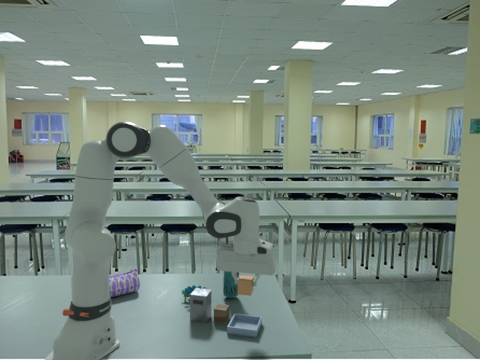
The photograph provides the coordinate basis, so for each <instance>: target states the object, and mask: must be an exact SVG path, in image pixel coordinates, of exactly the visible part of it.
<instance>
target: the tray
mask: <svg viewBox="0 0 480 360" xmlns="http://www.w3.org/2000/svg"><path fill="white" fill-rule="evenodd" d="M262 325H263V316H259V315H250V314H243V313H234V314H233V315H232V316H231V319H230V321H229V323H228V324H227V326H226V334H227V335H229V336H230V335H231V336H239V337H246V338H252V339H257V337H258V335H259V332H260V331H261V327H262Z"/></svg>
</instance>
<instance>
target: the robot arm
mask: <svg viewBox="0 0 480 360" xmlns="http://www.w3.org/2000/svg"><path fill="white" fill-rule="evenodd" d="M105 136H106V137H105V139H103V140H90V141H87V142H85V143H84V144H83V145H81V148H80V151H79V153H78V158H77V163H76V168H75V175H74V176H75V177H74V188H73V197H72V204H71V207H70V208H71V209H70V212H69V215H68V220H67V225H66V227H65V231H64V237H65V238H64V239H65V242H66V244H67V245H68V247H69V248H70V249H71V250H72V251H73V256H74V257H73V259H74V261H73V262H74V264H73V270H72V275H71V277H70V282H71V283H70V284H71V301H70V305H69V309H68V308H64V309H63V311H62V316H64V317H67V319H66V320H65V322H64V324H63V325H62V327H61V329H60V330H59V332H58V333H57V335H56V337H55V338H54V340H53V341H54V342H53V346H52V347H53V348H52V350H51V351H50V353H48V355H47V356H46V357H45V358H44V360H102V359H103V358H105V356H107V355H108V354H110V353H111V352H113V351H114V350H116V349H117V348H119V347H120V345H121V342H120V340H119V339H118V338H117V337H118V336H117V331H116V330H117V329H116V323H115V317H113V314H112V311H111V309H112V297H110V295H109V276H110V270H111V264H112V259H113V256H114V255H115V253H116V247H117V244H116V241H115V238H114V236H113V234H112V232H110V230H109V229H107V228H105V221H106V216H107V214H108V211H109V208H110V207H111V205H112V202H113V201H112V200H113V191H114V190H113V189H114V180H115V170H116V169H115V168H116V165H117V162H118V161H119V160H120V159H131V158H135V157H137V156H140V155H143V154H144V155H147V156H148V157H149V158H150V159H151V160H152V162H154V164H155V165H156V167H157V168H158V169H159V171H160V173H162V174H163V176H165V177H166V179H167V180H168V181H170V182H171V183H172V184H173V185H176V186H179V187H182V188H183V189H185V190H186V191H187V192H188V193H189V195H190V196H191V197H192V199H193V200H194V201H195V202H196V204H197V205H198V207H199V208H200V210H201V212H202V216H203V220H204V224H205V229H206V232H208V234H209V235H210V236H212V237H213V238H215V239H224V238H230V237H232V243H223V242H222V243H220V244H218V245H217V246H216V255H217V257H216V263H215V264H216V265H215V266H216V269H217V270H218V271H219V272H224V271H228V272H232V276H233V278H234V280H235V284H238V279H239V278H238V277H237V275H236V273H237V272H239V274H240V273H242V274H254V275H255V276H254V278H255V279H253V281H252V286H254V287H257V286H258V280H259V279H260V277H261V275H264V276H265V275H266V276H274V275H275V274H276V272H277V259H276V255H275V254H276V253H275V252H274V251H273V250H274V244H273V243H272V242H269V241H266V240H265V239H261V238H260V233H259V228H260V224H261V223H260V220H261V219H260V207H259V206H260V205H259V203H258V202H257V201H256V200H255V199H253V198H251V197H247V196H237V197H236V196H235V198H234V199H233V200H231V201H230V202H228V203H225V202H223V201H221V200H219V199H218V198H216V196H215V195H214V193H213V192H212V191H211V190H210V189H209V187H208V186H207V184H206V183H205V182H204V180H203V178H202V176H201V174H200V173H201V172H200V170H199V167H198V164H197V162H196V160H195V157H194V156H193V155H192V153H191V152H190V150H189V149H188V148H187V146H186V144H185V143H184V142H183V141H182V139H181V138H180V137H179V136H178V135H177V134H176V132H174V130H172V128H170V127H169V126H168V125H165V124H164V125H163V124H159V125H155V126H153V127H152V128H150V129H146V128H145V127H141V126H140V125H138V124H136V123H134V122H131V121H119V122H117V123H115V124H113V125H111V127H110V128H109V129H108V130H107V134H106V135H105Z"/></svg>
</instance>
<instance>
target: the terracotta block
mask: <svg viewBox="0 0 480 360" xmlns="http://www.w3.org/2000/svg"><path fill="white" fill-rule="evenodd" d="M254 278H255V276H253V275H252V276H251V275H239V279H238V296H239V295H240V296H247V297H248V296H249V297H250V296H252V294H253V292H254V287H255V286H252V281H253V279H254Z"/></svg>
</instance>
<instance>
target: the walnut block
mask: <svg viewBox="0 0 480 360" xmlns="http://www.w3.org/2000/svg"><path fill="white" fill-rule="evenodd" d="M229 319H230V304H225V303H217V304H216V305H215V306H214V308H213V323H217V324H224V325H226V324H227V323H228V321H229Z"/></svg>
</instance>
